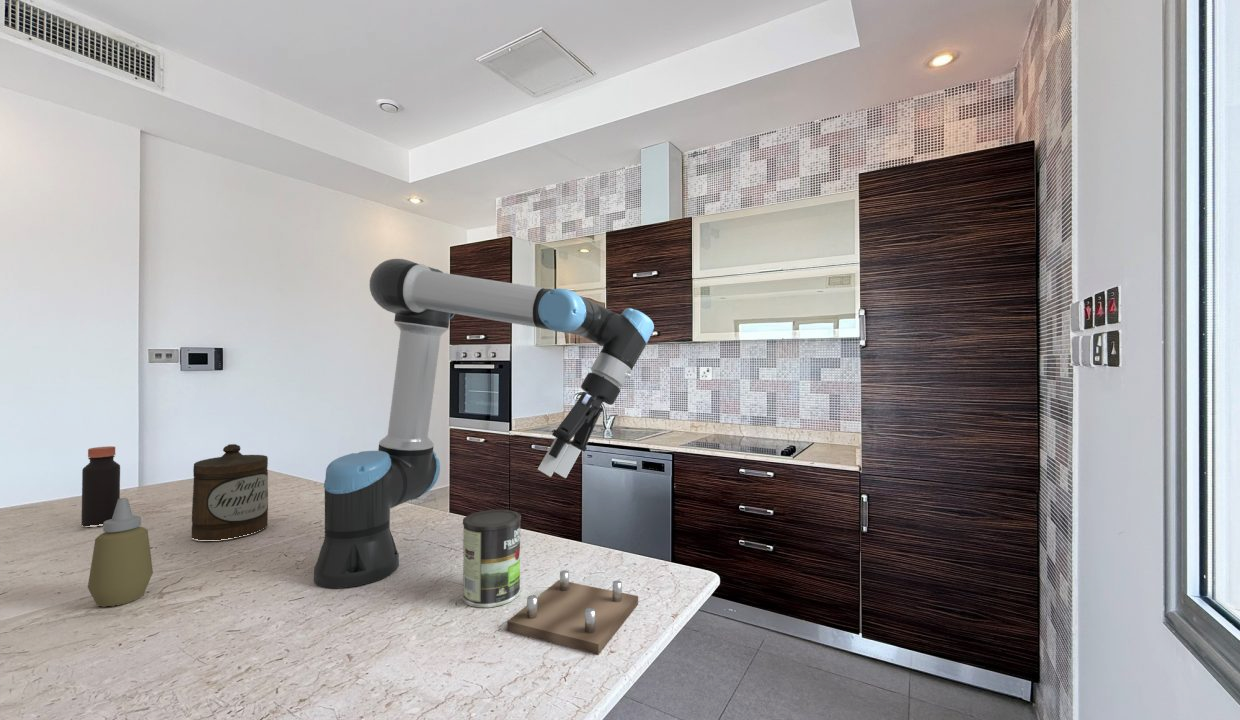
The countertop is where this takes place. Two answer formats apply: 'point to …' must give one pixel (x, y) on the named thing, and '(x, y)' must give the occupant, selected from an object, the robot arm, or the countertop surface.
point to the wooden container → (229, 495)
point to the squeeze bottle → (120, 559)
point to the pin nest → (574, 614)
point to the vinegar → (100, 486)
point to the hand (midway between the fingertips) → (552, 474)
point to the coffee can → (491, 558)
